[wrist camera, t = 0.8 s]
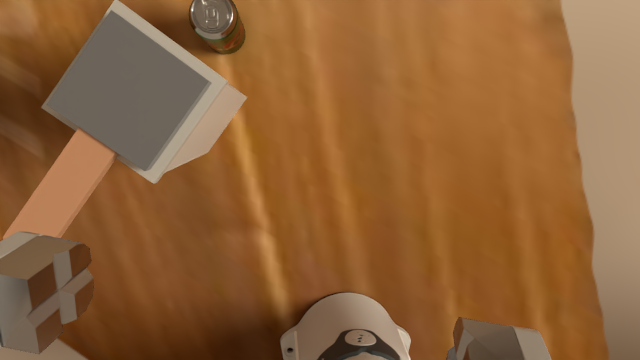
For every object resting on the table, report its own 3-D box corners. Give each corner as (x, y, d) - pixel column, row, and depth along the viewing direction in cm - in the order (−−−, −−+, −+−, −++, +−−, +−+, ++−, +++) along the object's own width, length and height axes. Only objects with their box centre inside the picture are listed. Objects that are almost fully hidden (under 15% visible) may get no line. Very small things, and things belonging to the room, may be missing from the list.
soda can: (245, 14, 58) (236, -12, 46) (246, 55, 58) (237, 39, 47) (205, 13, 57) (185, -14, 45) (206, 54, 58) (187, 38, 46)
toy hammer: (76, 273, 34) (67, 280, 33) (-19, 214, 33) (-33, 219, 32) (212, 82, 33) (208, 81, 32) (118, 14, 32) (111, 9, 31)
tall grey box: (208, 155, 60) (153, 183, 34) (146, 112, 58) (41, 107, 33) (250, 96, 59) (227, 80, 33) (189, 51, 58) (115, -2, 32)
